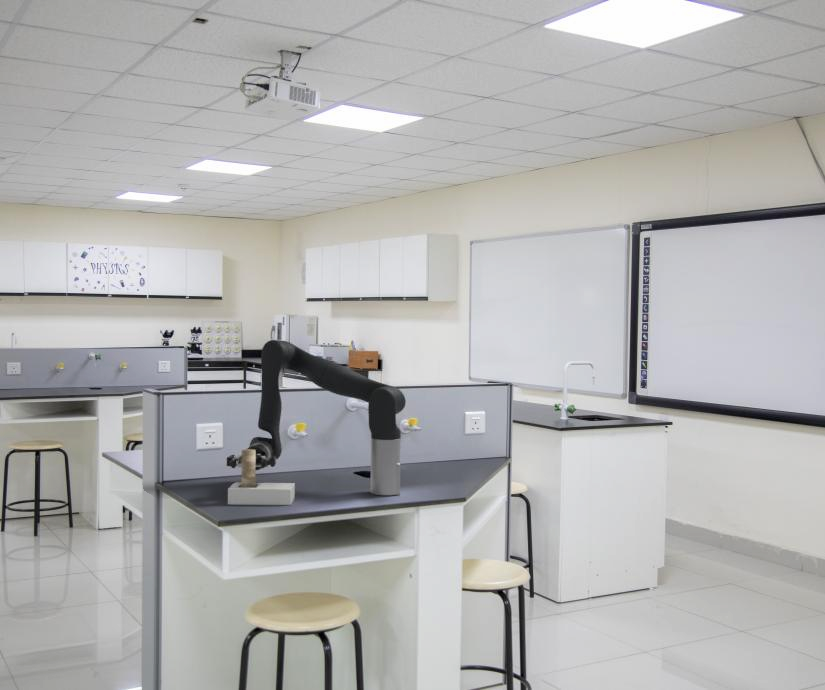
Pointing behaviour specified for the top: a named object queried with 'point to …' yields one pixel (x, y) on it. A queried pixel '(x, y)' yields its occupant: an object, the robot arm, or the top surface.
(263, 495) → the hole block
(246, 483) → the birch peg
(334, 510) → the top surface
